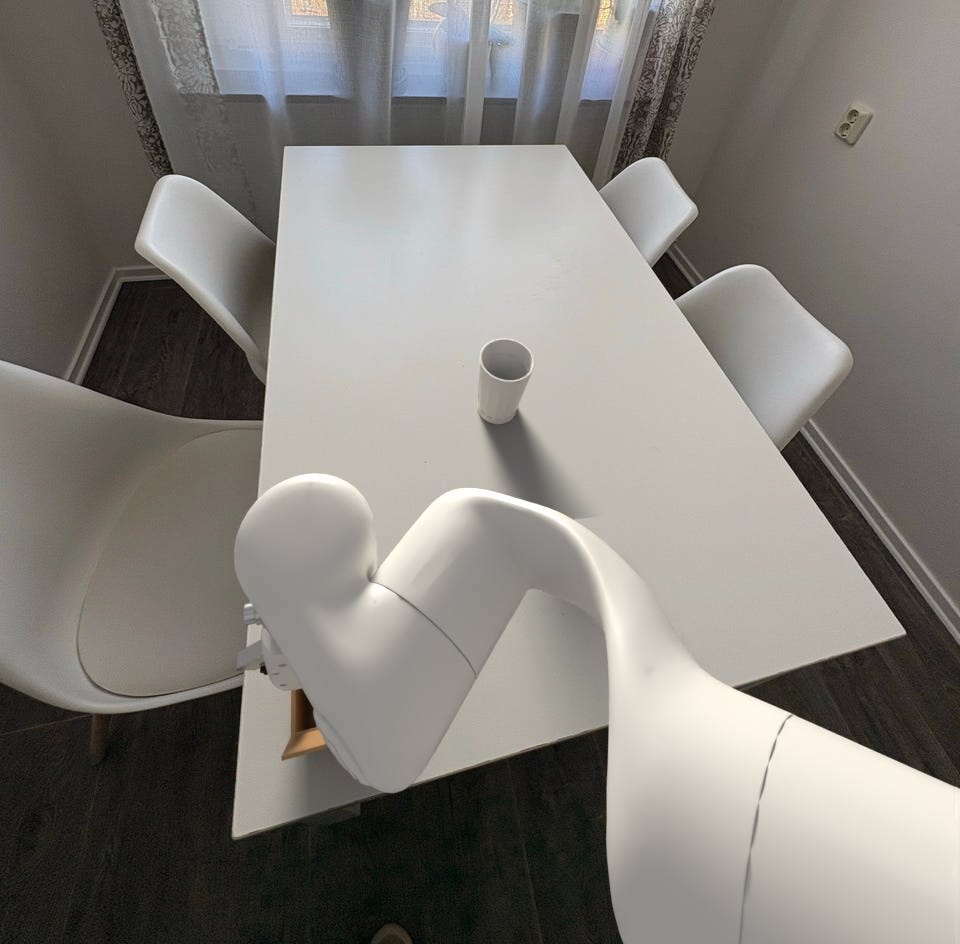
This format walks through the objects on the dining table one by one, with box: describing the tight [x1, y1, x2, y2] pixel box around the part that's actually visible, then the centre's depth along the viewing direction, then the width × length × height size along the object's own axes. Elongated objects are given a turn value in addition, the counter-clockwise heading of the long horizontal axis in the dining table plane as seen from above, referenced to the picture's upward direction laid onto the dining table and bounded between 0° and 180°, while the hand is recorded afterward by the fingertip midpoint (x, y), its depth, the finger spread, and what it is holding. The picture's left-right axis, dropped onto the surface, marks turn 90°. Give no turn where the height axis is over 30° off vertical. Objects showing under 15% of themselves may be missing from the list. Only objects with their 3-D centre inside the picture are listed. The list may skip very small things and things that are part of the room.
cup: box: [476, 337, 536, 425], centre depth 80 cm, size 8×8×12 cm
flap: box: [280, 730, 329, 761], centre depth 44 cm, size 5×10×1 cm
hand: (345, 658), depth 49 cm, fingers open, 6 cm apart
